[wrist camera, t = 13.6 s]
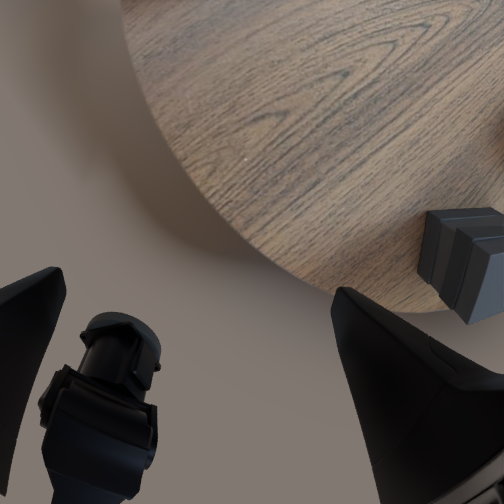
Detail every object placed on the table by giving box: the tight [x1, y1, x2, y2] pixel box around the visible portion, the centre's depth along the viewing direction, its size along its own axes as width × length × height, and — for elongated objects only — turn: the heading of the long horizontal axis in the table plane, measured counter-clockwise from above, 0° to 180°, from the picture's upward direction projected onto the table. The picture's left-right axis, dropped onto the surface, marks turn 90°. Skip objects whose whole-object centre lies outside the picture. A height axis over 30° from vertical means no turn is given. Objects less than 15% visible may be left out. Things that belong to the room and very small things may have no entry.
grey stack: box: [417, 208, 504, 325], centre depth 19 cm, size 9×6×8 cm
